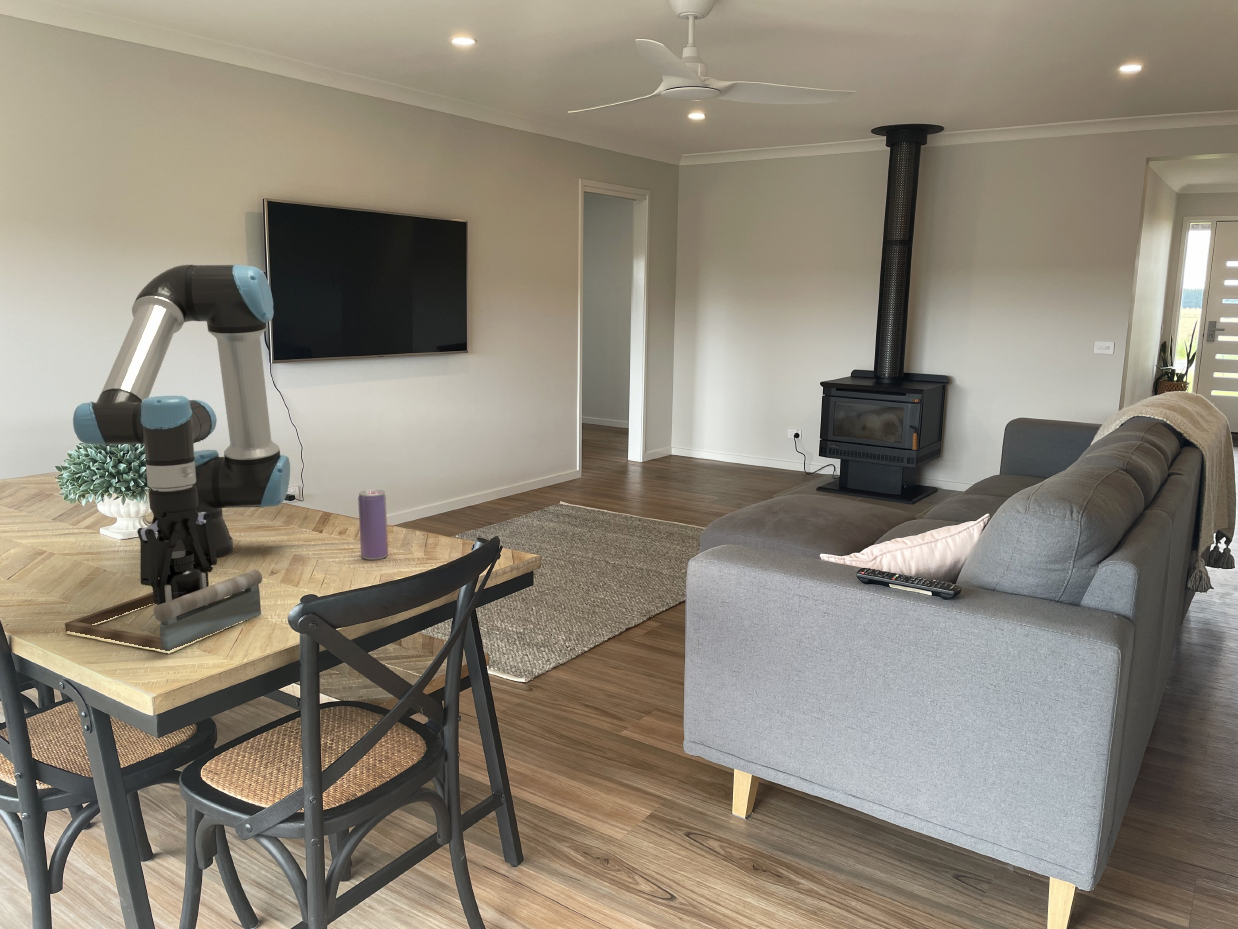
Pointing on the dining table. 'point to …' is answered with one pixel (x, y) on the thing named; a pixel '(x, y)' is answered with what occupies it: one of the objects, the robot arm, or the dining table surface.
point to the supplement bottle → (184, 575)
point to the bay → (187, 625)
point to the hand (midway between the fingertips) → (183, 613)
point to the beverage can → (373, 524)
